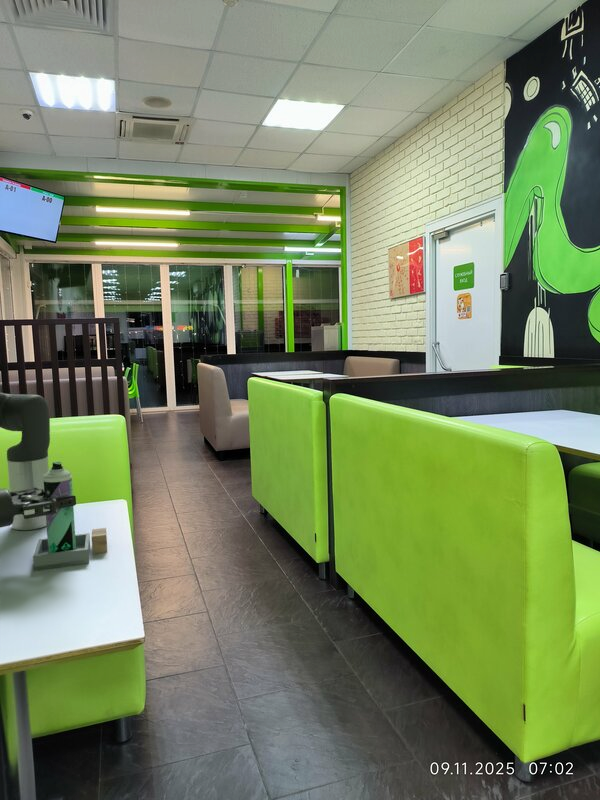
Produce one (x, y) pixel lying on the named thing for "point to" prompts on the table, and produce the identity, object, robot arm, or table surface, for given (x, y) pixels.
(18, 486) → the robot arm
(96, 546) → the chock block
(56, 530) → the spray can
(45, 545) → the tray
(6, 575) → the table surface
